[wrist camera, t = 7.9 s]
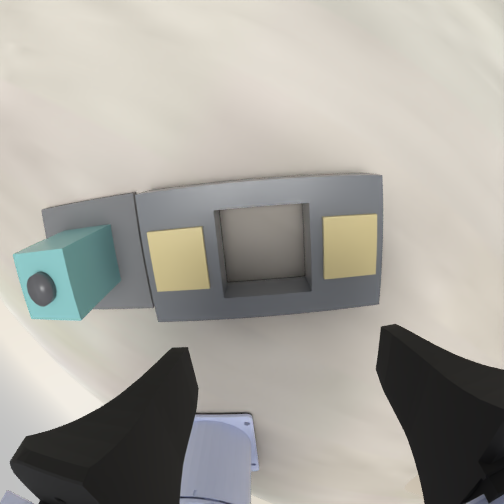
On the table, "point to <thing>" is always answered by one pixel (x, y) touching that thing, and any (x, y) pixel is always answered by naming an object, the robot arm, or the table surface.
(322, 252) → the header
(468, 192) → the table surface
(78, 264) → the plug
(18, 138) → the table surface
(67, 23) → the table surface
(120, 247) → the mat
